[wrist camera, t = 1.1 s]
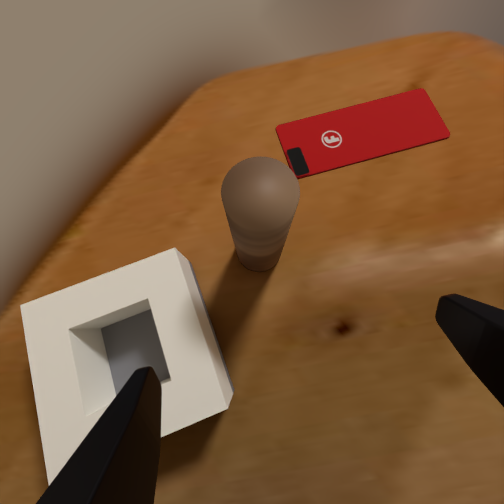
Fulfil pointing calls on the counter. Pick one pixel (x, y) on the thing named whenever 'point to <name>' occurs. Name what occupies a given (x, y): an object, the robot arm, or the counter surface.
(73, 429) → the bore block
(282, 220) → the walnut pin
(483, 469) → the counter surface
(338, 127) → the electronic device
